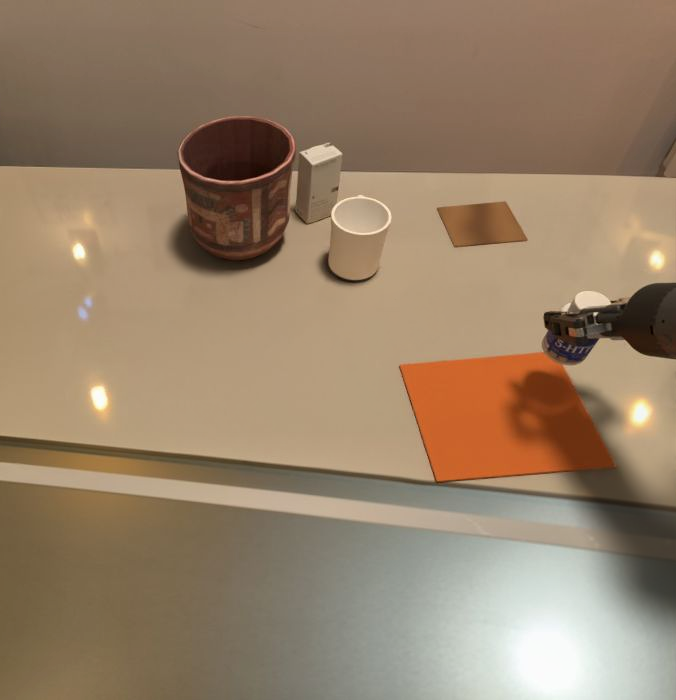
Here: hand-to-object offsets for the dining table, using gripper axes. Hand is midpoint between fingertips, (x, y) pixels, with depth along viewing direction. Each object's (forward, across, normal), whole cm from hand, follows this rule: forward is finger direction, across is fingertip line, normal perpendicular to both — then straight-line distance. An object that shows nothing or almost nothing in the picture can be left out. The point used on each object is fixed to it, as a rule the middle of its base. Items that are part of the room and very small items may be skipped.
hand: (569, 314), depth 74 cm
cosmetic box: (+38, +17, -21) cm, 47 cm away
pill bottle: (+2, 0, +5) cm, 5 cm away
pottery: (+36, +32, -19) cm, 52 cm away
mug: (+29, +15, -11) cm, 34 cm away
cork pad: (+30, -8, -13) cm, 34 cm away
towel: (+6, +8, +12) cm, 15 cm away
